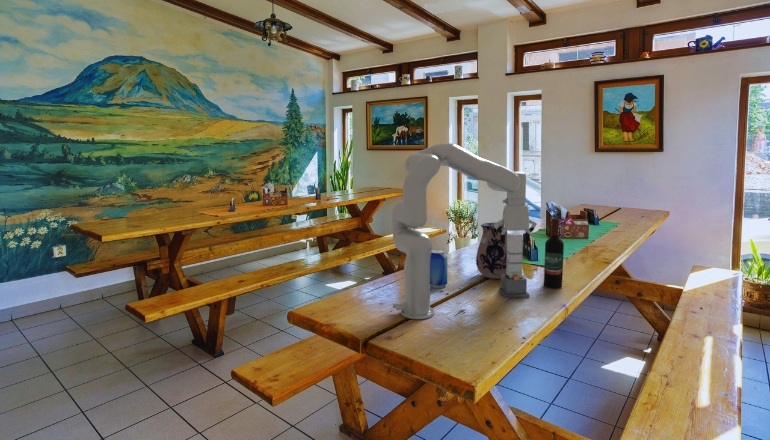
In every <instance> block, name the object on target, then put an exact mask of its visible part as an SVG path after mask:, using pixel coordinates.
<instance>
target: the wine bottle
mask: <svg viewBox="0 0 770 440" xmlns="http://www.w3.org/2000/svg"><path fill="white" fill-rule="evenodd" d="M559 225H560V219H559V218H558V217H557V218H556V217H555V218H552V219H551V234H550V235H551V236H550V237H549V238H548V239H547V240H546V241H545V245H544V247H545V248H544V268H543V269H544V271H543V272H544V273H543V286H544V288H547V289H553V290H554V289H555V290H557V289H561V287H562V288H563V272H564V271H563V270H564V252H565V251H564V249H565V246H564V245H565V243H564V241H563V240H562V239H561V238H560V237H559Z"/></svg>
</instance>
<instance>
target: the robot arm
mask: <svg viewBox="0 0 770 440" xmlns="http://www.w3.org/2000/svg"><path fill="white" fill-rule="evenodd" d="M441 167H448V168H450V169H452V170H454V171H456V172H458V173H461V174H462V175H464V176H466V177H467V178H471V179H474V180H476V181H482V182H486V184H487V186H488V188H489V189H491V190H493V191H497V192H505V194H506V197H505V199H502V203H503V204H505V205H504V207H503V211H502V212H503V213H502V218H501V219H500V220H498V221H496V223H495V222H493V223H494V226H495V228H496V230H497V231H498V232H499V233H500V242H501V243H502V244H505V235H504V233H505V232H506V231H507V232H508V231H509V232H511V231H515V232H516V231H524V236H523V237H524V238H523V242H524V243H525V244H527V245H528V244H529V242H530V241H531V240H530V239H531V237H530V235H531V234H532V232H533V231H534V230H535V229H536V226H537V225H538V224H537V222H535V221H533V220H531V219H530V215H529V214H530V213H529V207H528V205H526V199H527V198H526V195H527V193H526V192H527V191H526V190H527V174H526V172H524V171H513V170H510V169H509V168H507V167H505V166H503V165H500V164H498V163H495V162H492V161H490V160H487V159H486V158H485V159H484V158H482V157H479V156H477V155H476V154H475V153H473V152H471V151H469V150H467V149H466V148H464V147H461V146H460V145H459V144H455V143H452V142H451V143H448V142H447V143H438V144H434V145H431V146H429V147H426V148H424V149H422V150H419V151H416V152H414V153H411V154H410V155H409V156H407V158H406V160H405V162H404V169H405V171H406V172H407V175H406V177H405V179H404V182H403V185H402V200H399V201H397V202H396V203H395V205H394V206H393V208H392V212H391V223H392V224H391V227H392V240H393V244H394V246H395V248H396V249H397V250H398V251H400V252H402V253H403V254H406V258H405V262H404V266H403V277H404V278H403V279H404V280H403V281H404V282H403V284H404V285H403V286H404V299H403V301H401V302H399V303H398V302H392V309H395V310H396V311H400V314H401V316H402V317H403V318H407V319H409V320H410V319H411V320H426V319H429V318H432V317H433V316H434V315H435V310H434V308H433V307H431V288H430V287H431V286H430V257H431V251H432V250H433V242H432V240H431V238H430V236H428V235H427V234H425V233H424V232H422V231H420V230H416V229H421V228H422V227H424V226H425V225H426V223H427V220H428V208H427V207H428V205H427V189H428V185H429V183H430V181H431V180H432V179H433V178H434V176H436V175H437V174H438V173H439V171H440V168H441ZM500 224H502V227H503V228H502V229H501V230H500V229H499V225H500ZM530 224H531V226H530Z"/></svg>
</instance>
